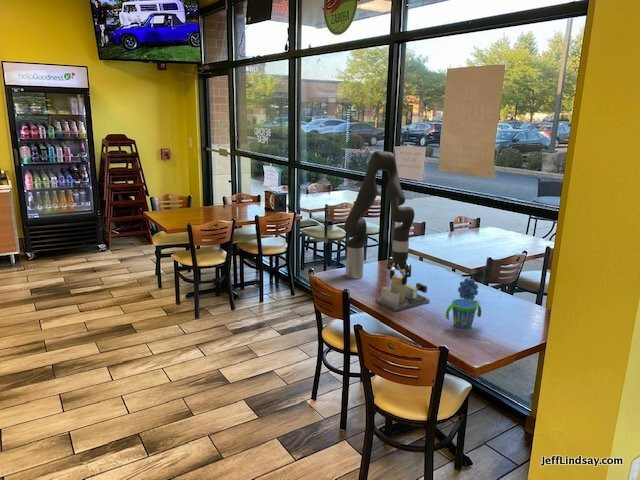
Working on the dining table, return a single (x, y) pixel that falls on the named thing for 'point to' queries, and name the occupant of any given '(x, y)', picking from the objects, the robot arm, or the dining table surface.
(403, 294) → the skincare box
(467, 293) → the grapes
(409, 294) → the free jaw
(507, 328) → the dining table surface
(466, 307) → the snack cup
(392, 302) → the vise
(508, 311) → the dining table surface
